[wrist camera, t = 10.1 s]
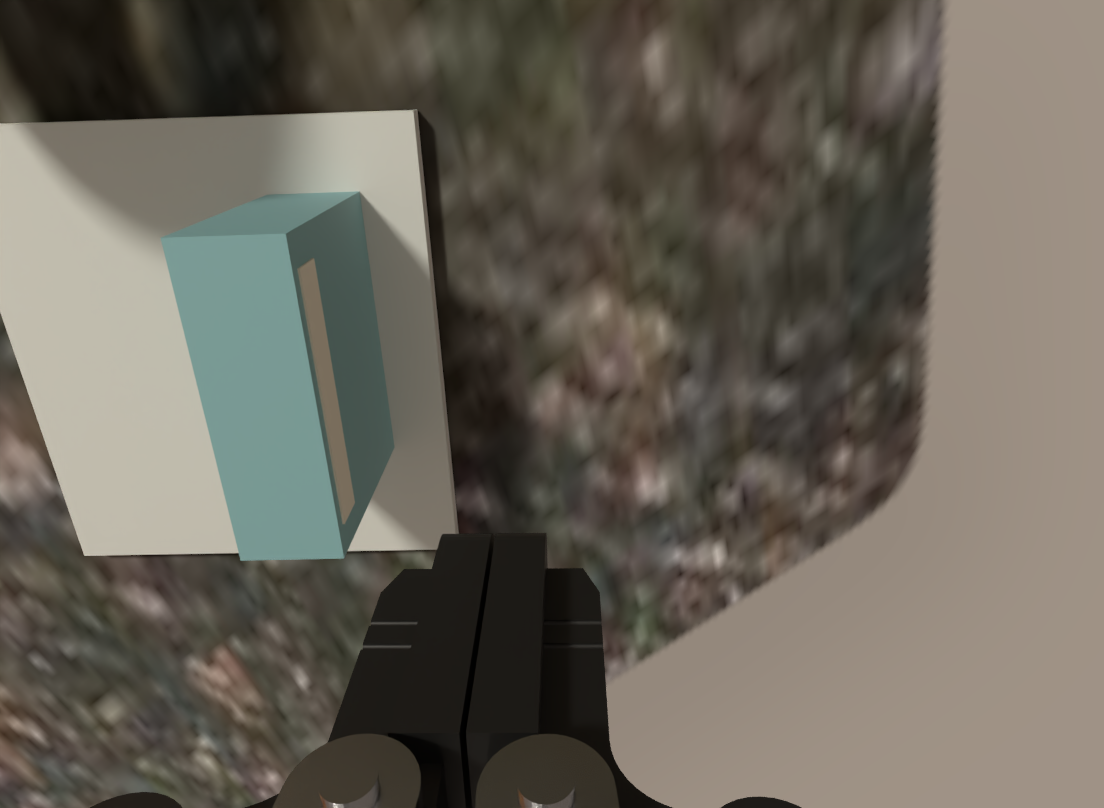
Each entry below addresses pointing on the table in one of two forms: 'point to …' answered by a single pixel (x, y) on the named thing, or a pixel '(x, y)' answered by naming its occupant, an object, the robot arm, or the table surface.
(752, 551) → the table surface
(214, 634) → the table surface
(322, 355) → the box
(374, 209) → the mat
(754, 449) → the table surface
